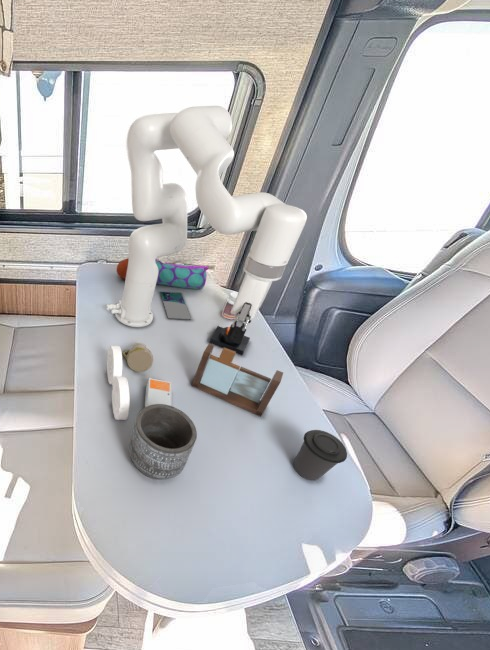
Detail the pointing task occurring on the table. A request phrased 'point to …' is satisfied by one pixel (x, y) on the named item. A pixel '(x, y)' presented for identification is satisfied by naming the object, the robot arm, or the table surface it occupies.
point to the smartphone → (175, 305)
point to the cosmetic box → (158, 392)
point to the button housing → (221, 341)
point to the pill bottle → (229, 306)
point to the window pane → (220, 371)
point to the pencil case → (181, 275)
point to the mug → (139, 357)
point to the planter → (162, 441)
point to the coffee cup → (318, 454)
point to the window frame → (242, 387)
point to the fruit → (122, 268)
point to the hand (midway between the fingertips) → (238, 330)
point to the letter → (118, 384)
